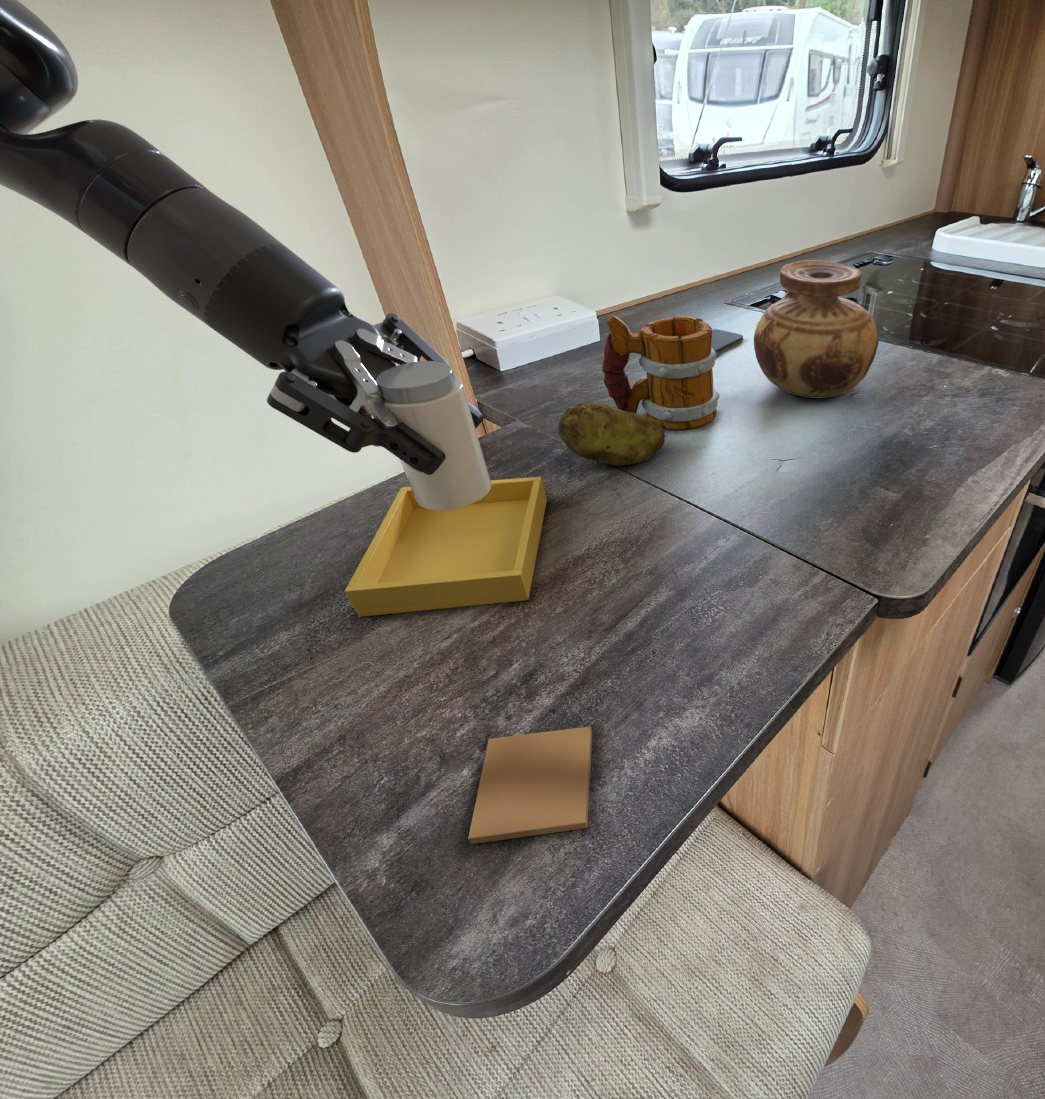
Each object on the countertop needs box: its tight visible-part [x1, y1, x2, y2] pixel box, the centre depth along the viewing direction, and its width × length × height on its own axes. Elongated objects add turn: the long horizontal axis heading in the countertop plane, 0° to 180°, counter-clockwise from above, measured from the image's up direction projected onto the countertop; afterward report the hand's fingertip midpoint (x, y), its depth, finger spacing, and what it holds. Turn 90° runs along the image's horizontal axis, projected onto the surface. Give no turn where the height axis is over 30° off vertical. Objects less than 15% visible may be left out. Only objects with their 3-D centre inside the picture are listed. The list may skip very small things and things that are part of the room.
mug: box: [601, 314, 720, 431], centre depth 84 cm, size 11×16×15 cm, turn 102°
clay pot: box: [753, 259, 880, 399], centre depth 91 cm, size 19×19×20 cm
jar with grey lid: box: [376, 360, 491, 511], centre depth 47 cm, size 6×6×10 cm
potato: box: [557, 402, 666, 467], centre depth 76 cm, size 8×13×8 cm, turn 92°
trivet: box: [467, 726, 593, 845], centre depth 42 cm, size 8×8×1 cm
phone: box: [712, 328, 744, 354], centre depth 110 cm, size 7×1×15 cm
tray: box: [344, 476, 548, 618], centre depth 63 cm, size 18×16×3 cm
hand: (458, 444), depth 47 cm, fingers closed on jar with grey lid, 6 cm apart
